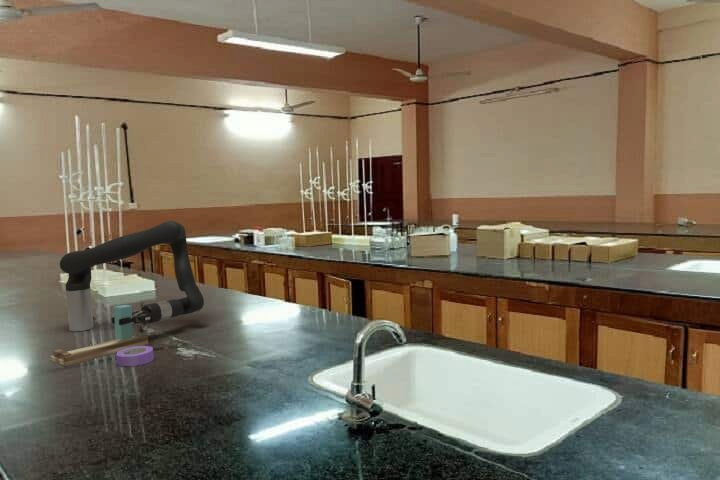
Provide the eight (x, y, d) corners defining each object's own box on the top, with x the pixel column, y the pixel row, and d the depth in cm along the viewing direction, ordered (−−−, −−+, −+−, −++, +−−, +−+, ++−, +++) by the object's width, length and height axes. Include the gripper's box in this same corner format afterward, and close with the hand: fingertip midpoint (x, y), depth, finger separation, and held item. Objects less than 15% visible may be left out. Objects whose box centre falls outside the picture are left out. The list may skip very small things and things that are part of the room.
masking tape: (118, 369, 176) (117, 358, 175) (115, 359, 186) (115, 349, 186) (155, 363, 181) (155, 352, 181) (151, 354, 192) (150, 343, 191)
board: (50, 360, 187) (49, 350, 187) (131, 339, 211) (130, 330, 211) (66, 366, 180) (65, 356, 180) (148, 343, 204) (147, 334, 203)
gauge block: (115, 338, 202) (113, 306, 201) (126, 335, 205) (125, 304, 205) (121, 339, 199) (120, 307, 198) (132, 337, 203) (131, 306, 202)
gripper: (146, 300, 217) (104, 309, 203) (166, 304, 208) (125, 313, 195) (147, 318, 218) (106, 328, 204) (168, 323, 209) (126, 334, 195)
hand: (115, 321), depth 199 cm, fingers closed on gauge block, 4 cm apart
